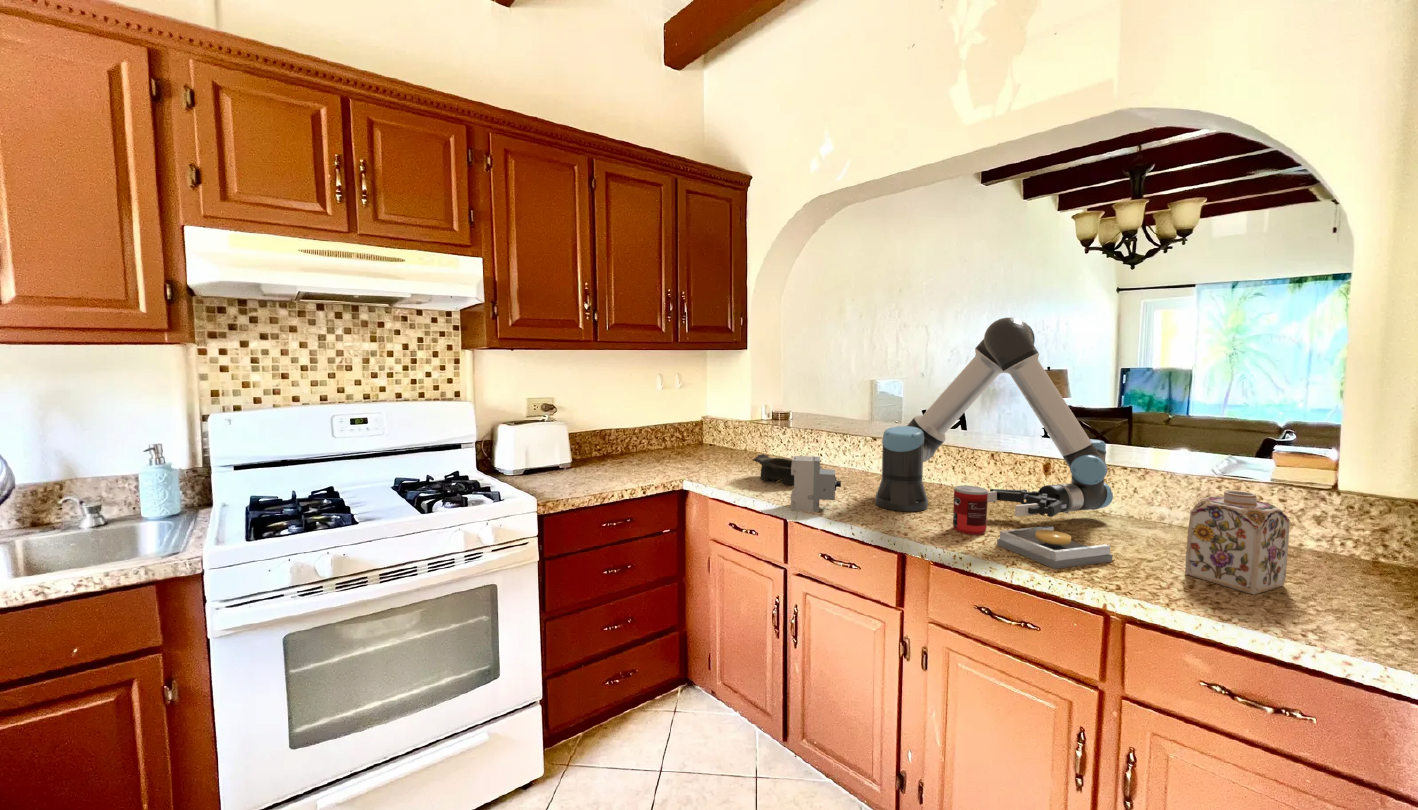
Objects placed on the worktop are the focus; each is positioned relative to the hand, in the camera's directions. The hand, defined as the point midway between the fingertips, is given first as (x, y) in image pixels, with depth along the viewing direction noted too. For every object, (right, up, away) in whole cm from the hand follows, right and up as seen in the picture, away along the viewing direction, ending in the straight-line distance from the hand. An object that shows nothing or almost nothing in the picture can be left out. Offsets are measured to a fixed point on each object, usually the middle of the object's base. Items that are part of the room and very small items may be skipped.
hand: (995, 504), depth 148 cm
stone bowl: (-46, -2, +58) cm, 74 cm away
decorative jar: (+31, -10, -34) cm, 47 cm away
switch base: (+4, -8, -18) cm, 20 cm away
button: (+4, -6, -18) cm, 20 cm away
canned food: (-7, -7, -1) cm, 10 cm away
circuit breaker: (-43, -5, +20) cm, 48 cm away
